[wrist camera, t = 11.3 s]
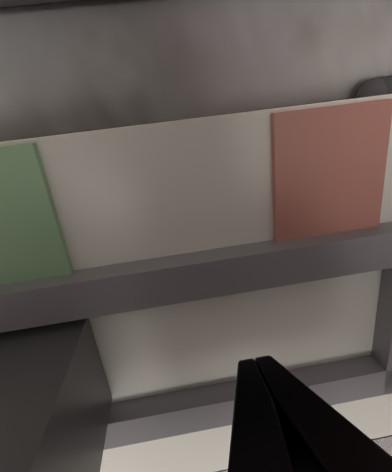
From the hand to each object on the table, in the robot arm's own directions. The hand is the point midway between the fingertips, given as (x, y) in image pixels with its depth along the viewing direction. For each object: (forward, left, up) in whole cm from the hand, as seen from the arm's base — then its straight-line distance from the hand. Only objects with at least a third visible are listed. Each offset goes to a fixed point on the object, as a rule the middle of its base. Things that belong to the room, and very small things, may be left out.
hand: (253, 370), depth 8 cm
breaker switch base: (+2, 0, -4) cm, 4 cm away
